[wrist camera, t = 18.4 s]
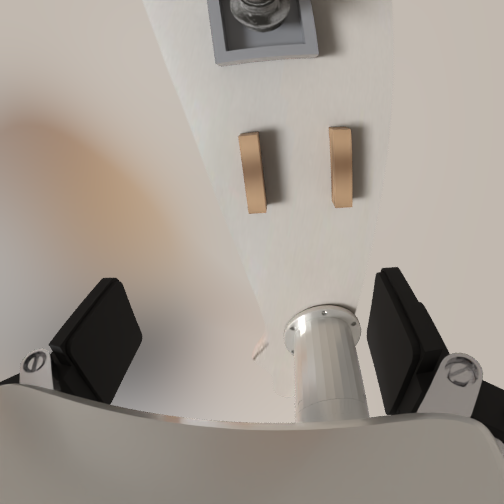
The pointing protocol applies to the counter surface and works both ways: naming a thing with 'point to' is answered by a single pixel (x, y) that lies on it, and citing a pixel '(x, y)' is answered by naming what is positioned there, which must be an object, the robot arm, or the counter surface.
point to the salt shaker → (260, 13)
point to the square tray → (262, 36)
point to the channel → (339, 169)
